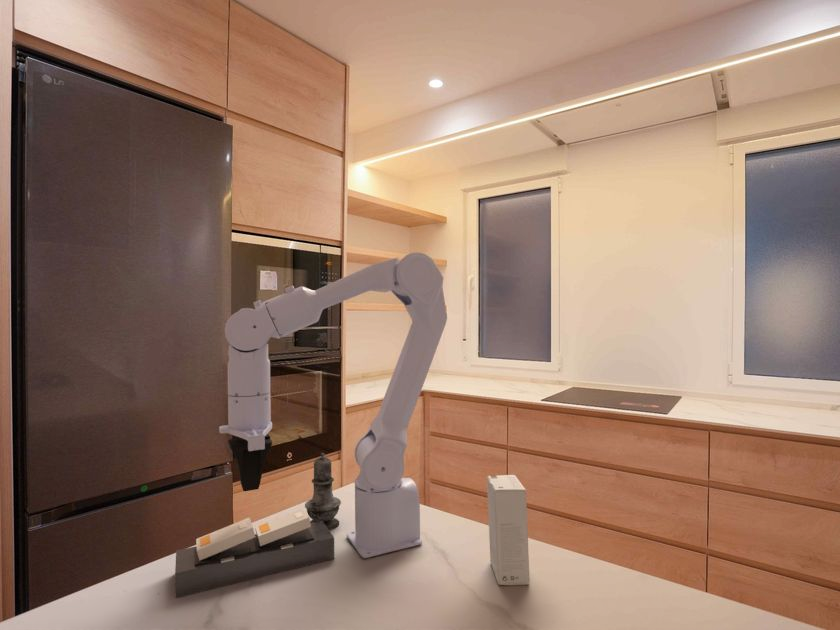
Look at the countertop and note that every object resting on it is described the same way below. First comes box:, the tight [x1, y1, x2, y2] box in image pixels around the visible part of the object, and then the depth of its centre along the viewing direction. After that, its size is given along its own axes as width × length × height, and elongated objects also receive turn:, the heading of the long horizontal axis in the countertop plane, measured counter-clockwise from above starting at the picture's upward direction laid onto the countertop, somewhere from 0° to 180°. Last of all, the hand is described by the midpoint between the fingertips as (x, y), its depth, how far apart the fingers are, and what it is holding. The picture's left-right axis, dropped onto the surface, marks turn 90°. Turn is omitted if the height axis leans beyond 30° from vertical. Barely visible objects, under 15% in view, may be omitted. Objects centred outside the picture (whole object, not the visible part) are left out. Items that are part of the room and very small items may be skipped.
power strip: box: [174, 521, 335, 599], centre depth 65 cm, size 20×6×3 cm, turn 116°
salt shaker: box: [304, 452, 342, 532], centre depth 78 cm, size 6×6×12 cm
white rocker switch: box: [195, 517, 256, 561], centre depth 63 cm, size 7×4×2 cm, turn 117°
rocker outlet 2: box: [254, 507, 311, 546], centre depth 67 cm, size 7×4×2 cm, turn 117°
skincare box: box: [486, 474, 530, 586], centre depth 63 cm, size 6×4×12 cm
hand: (250, 488), depth 67 cm, fingers closed
